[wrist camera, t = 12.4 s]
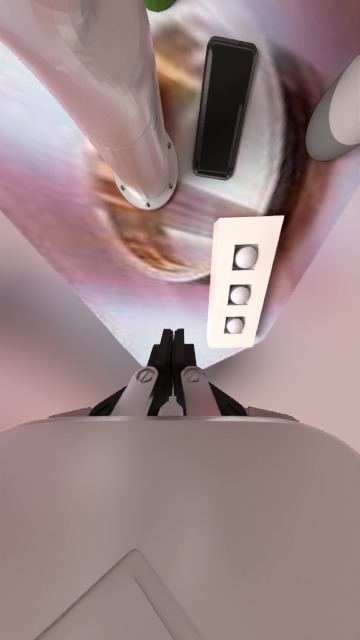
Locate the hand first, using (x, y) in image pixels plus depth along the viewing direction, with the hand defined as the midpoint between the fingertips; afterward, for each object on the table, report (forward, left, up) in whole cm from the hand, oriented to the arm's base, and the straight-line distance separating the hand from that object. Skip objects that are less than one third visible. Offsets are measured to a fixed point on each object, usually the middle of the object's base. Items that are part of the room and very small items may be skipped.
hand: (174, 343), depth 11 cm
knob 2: (-6, +14, -26) cm, 30 cm away
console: (+2, +14, -27) cm, 31 cm away
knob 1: (+10, +14, -26) cm, 31 cm away
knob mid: (+2, +14, -26) cm, 29 cm away
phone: (-28, +8, -28) cm, 40 cm away
